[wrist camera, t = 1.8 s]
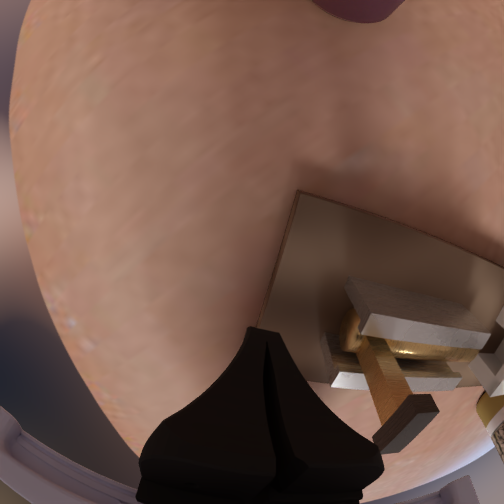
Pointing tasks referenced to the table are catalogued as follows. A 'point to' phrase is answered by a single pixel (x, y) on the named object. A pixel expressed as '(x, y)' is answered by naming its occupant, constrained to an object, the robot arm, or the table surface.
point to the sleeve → (403, 334)
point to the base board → (367, 277)
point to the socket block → (491, 366)
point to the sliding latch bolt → (395, 381)
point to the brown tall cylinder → (493, 419)
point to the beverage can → (359, 9)
